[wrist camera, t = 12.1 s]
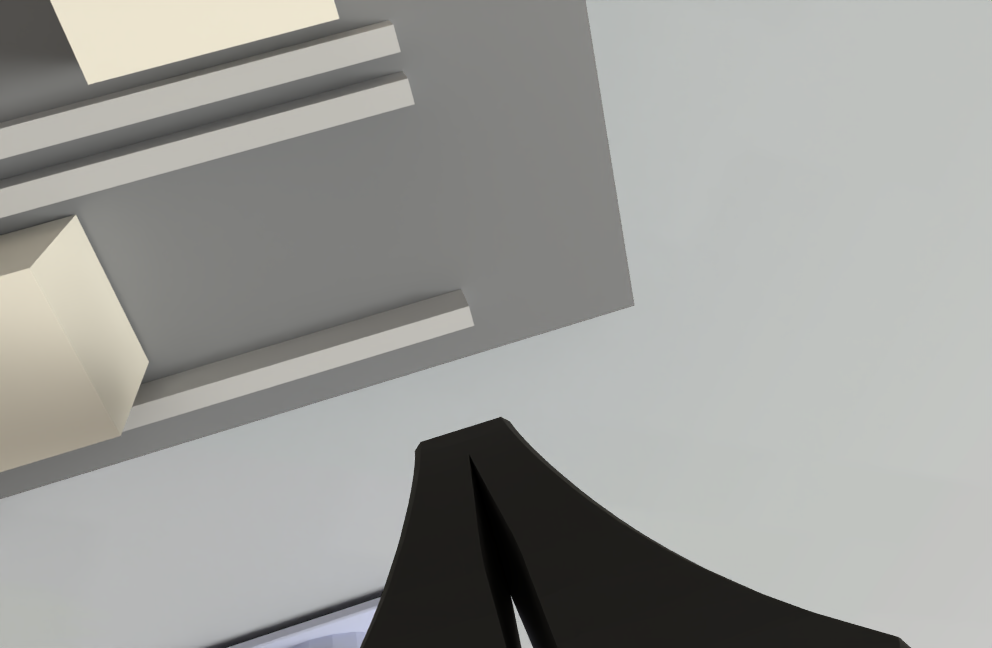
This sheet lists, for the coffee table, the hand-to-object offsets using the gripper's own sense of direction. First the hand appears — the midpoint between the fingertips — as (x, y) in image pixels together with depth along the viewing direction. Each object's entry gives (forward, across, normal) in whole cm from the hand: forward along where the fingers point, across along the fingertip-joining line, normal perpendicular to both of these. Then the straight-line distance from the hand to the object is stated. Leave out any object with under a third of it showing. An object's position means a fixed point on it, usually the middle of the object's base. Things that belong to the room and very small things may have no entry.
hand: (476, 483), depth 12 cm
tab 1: (+7, +8, -2) cm, 11 cm away
